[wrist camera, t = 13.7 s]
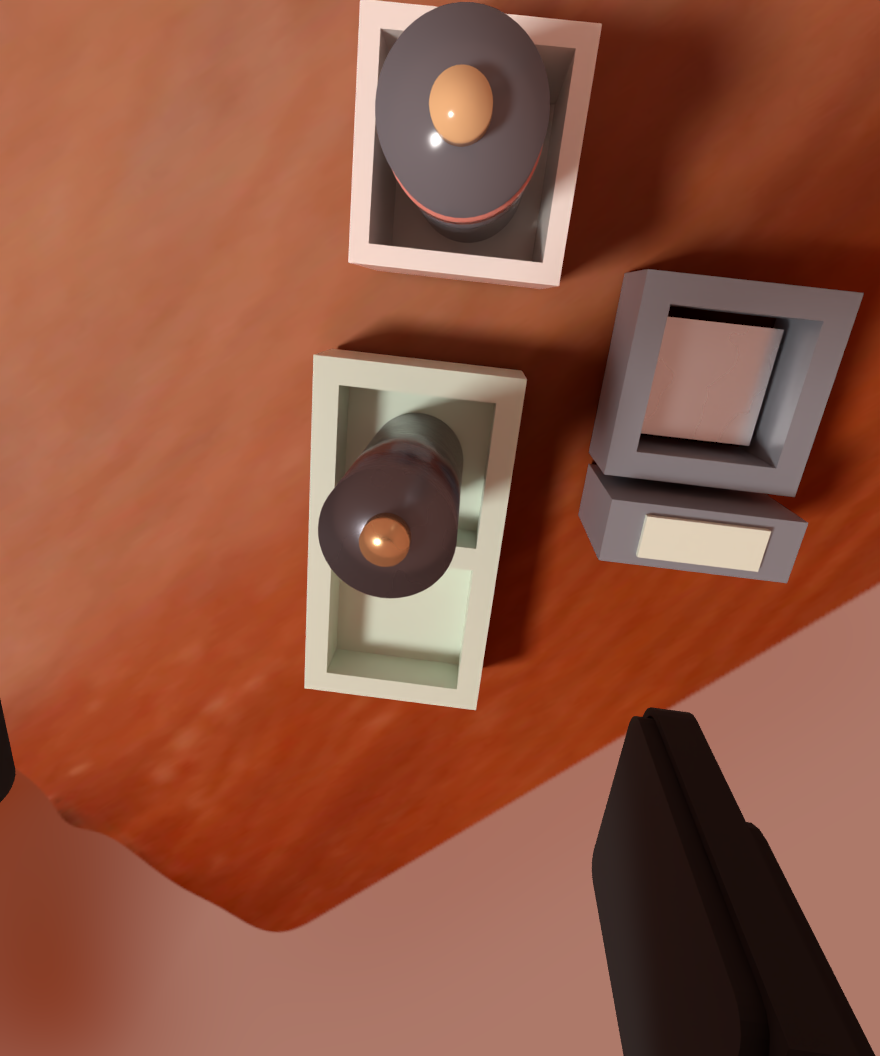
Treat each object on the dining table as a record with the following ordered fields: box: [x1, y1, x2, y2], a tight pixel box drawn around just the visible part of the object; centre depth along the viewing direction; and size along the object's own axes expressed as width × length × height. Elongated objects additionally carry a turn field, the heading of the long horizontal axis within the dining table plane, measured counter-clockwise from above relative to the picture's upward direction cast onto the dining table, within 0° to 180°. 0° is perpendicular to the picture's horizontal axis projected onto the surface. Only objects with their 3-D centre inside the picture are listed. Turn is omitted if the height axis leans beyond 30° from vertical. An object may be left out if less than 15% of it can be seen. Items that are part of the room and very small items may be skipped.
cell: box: [318, 413, 463, 598], centre depth 21 cm, size 4×4×10 cm
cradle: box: [579, 269, 864, 583], centre depth 23 cm, size 10×7×5 cm
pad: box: [641, 317, 784, 446], centre depth 24 cm, size 4×4×2 cm
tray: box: [305, 349, 527, 710], centre depth 26 cm, size 15×8×3 cm, turn 174°
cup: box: [348, 0, 602, 289], centre depth 18 cm, size 7×7×10 cm
